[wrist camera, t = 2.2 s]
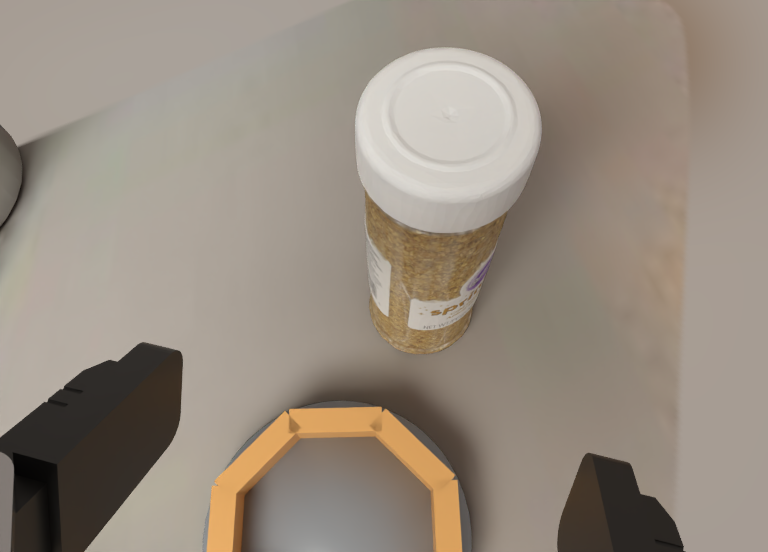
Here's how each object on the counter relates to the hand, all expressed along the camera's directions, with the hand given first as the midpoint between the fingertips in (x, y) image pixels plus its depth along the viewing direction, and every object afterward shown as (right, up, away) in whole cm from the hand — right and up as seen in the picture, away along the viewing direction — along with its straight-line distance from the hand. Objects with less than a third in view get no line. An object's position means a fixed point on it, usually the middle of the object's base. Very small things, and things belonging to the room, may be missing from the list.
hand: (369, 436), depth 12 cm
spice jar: (+2, +2, +15) cm, 15 cm away
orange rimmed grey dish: (-1, -7, +11) cm, 13 cm away
